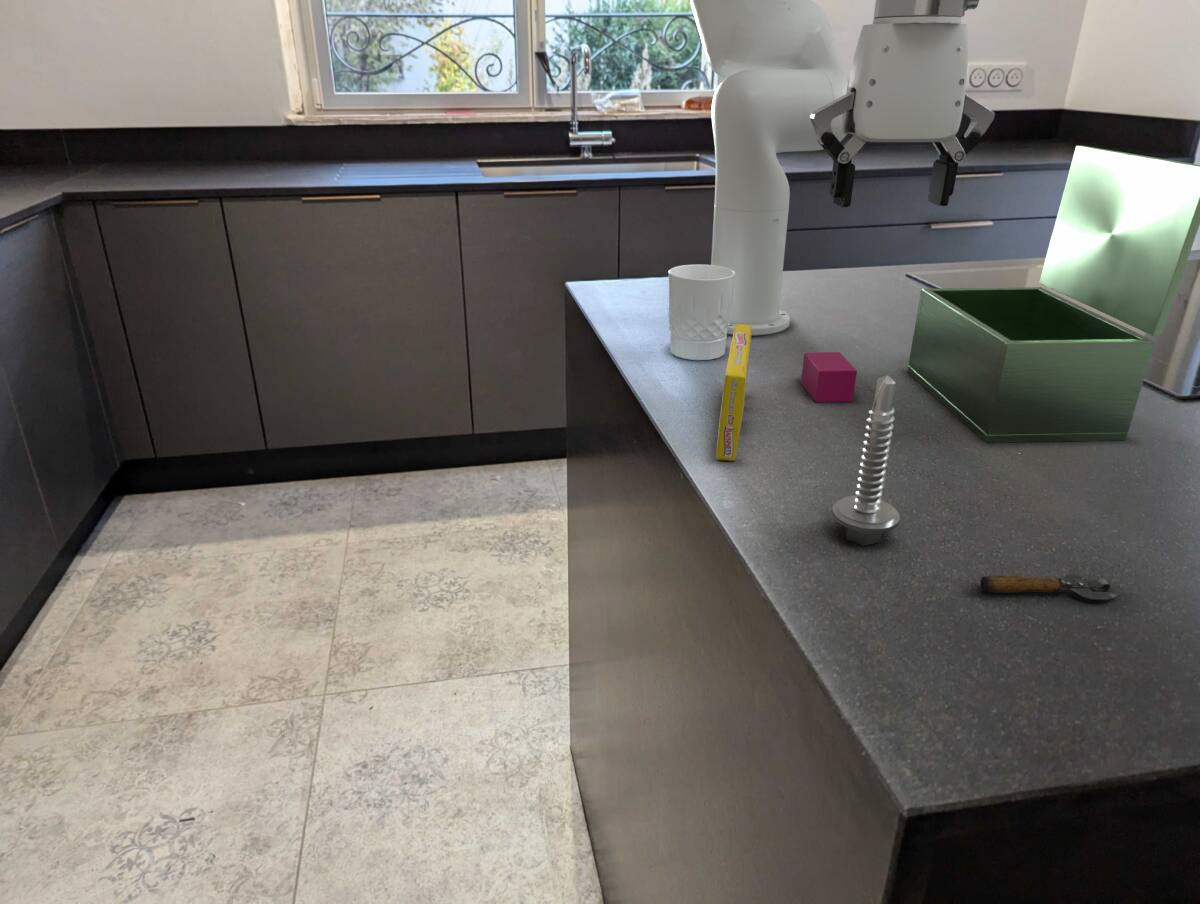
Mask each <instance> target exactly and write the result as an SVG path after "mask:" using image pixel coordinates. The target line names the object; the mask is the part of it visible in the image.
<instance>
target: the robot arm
mask: <svg viewBox="0 0 1200 904" xmlns="http://www.w3.org/2000/svg"><path fill="white" fill-rule="evenodd" d="M689 1H690V5H691V9H692V13H693V16H694V20H695V24H696V27H697V31H698V34H699V37H700V41H701V44H702V48H703V52H704V54H705V57H706V60H707V62H708V65H709V66H710V68H711V70H712V71H713V72H714V73H715V74H716V75H717V76H719V77H721V78H724V79H723V80H722V81H721V82H720V83H719V84H718V86H717V88H716V89H715V91H714V94H713V97H712V100H711V101H712V102H711V125H712V126H711V127H712V133H713V144H714V156H715V182H714V184H715V185H714V201H713V202H714V203H713V204H714V205H713V206H714V207H713V223H712V242H711V243H712V244H711V259H710V265H716V266H722V267H726V268H729V269H732V270H733V271H734V272H735V281H734V289H733V298H732V308H731V313H730V322H729V329H728V333H727V335H732V336H733V333H734V329H735V325H736V324H744V325H751V326H752V330H751V337H752V336H766V335H774V334H777V333H781V332H783V331H785V330H786V329H787V328H789V326H790V324H791V323H790V322H791V316H790V315H789V314H788V312H786V311H785V310H783V309H780V305H781V297H782V296H781V294H782V286H783V285H782V284H783V273H784V262H785V253H786V243H787V242H786V241H787V233H788V221H789V220H788V219H789V213H790V212H789V211H790V200H791V199H790V198H791V193H790V191H791V190H790V183H789V180H788V178H787V175H786V172H785V171H784V169H783V167H782V165H781V164H780V161H779V159H778V157H777V154H780V153H789V152H812V151H823V150H824V151H825V152H826V154H827V155H828V156H829V159H830V160H831V161H833V163H832V171H831V178H830V179H831V180H830V187H829V195H830V197H832V199H833V200H832V201H833V202H832V203H833V204H834V205H837V206H838V207H841V208H848V207H850V206H851V204H852V198H853V197H852V196H853V188H854V182H855V174H856V172H855V171H856V165H855V163H852V162H853V161H852V160H853V158H854V157H855V155H856V154H858V152H859V151H860V150H861V149H862V148H863V147H864V145H865V144H867V142H868V143H932V145H933V146H934V148H935V149H936V152H937V153H938V155H939V158H938V159H935V160H934V161H933V164H932V171H931V176H930V182H929V189H928V195H927V201H928V202H929V203H932V204H934V205H937V206H940V207H947V206H948V205H949V202H950V197H951V196H952V195H953V194H954V190H955V186H956V185H955V184H956V180H957V173H958V167H959V163H962V162H964V160H965V159H966V157H967V155H968V154H969V153H970V152H971V151H972V150H974V149H975V147H976V146H978V145H979V144H980V143H981V141H982V136H983V135H985V133H986V132H987V130H988V129H989V127H990V126H991V124H992V123H993V122H994V119H995V115H996V114H995V112H994V111H993V110H991V109H990V108H987V107H986V106H985V105H983V104H981V102H979V101H977V100H975V99H974V98H972V97H971V96H969V95H967V94H966V88H967V78H968V64H969V36H968V35H969V34H968V33H969V32H968V31H969V30H968V24H967V23H962V19H963V17H965V14H966V13H965V12H967V11H968V10H975V9H977V8H978V6H979V3H980V0H875V4H874V11H873V19H872V23H871V24H863V25H862V28H861V31H860V34H859V37H858V40H857V44H856V47H855V51H854V55H853V56H854V57H853V60H852V63H851V68H850V72H849V77H848V75H847V72H846V70H845V67H844V64H843V59H842V57H841V54H840V51H839V48H838V45H837V42H836V39H835V35H834V33H833V30H832V26H831V24H830V21H829V19H828V17H827V14H826V13H825V12H824V10H823V9H822V8H821V7H820V6H819V4H818V3H816V2H814V1H813V0H689ZM963 115H965V116H966V117H968V118H969V119H970V122H969V125H968V127H967V129H966V130H965V131H964V132H963V133H961V135H959V136H958V137H957V136H956V135H957V134H958V132H959V129H960V126H961V122H962V118H963Z"/></svg>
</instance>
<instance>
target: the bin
mask: <svg viewBox="0 0 1200 904" xmlns="http://www.w3.org/2000/svg"><path fill="white" fill-rule="evenodd" d="M912 336H913V337H912V341H911V346H910V347H911V348H910V353H909V358H908V359H909V360H908V365H907V371H906V372H907V373H908V375H910V376H911V377H912V378H913V379H914V380H915V381H916V382H918V383H919V385H920V386H922V387H923V388H924V389H925V390H927V392H928V393H930V394H931V395H932V396H933V397H934V398H935V399H936V400H938V402H939V403H941V404H942V405H943V406H944V407H946V408H947V410H949V411H950V412H951V413H952V414H953V415H954V416H955V417H957V419H959V420H960V421H961V422H962V423H963V424H964V425H965V426H966V427H967V428H969V430H971V431H972V432H973V433H974V434H975V435H976V436H977V437H979V438H980V439H981V441H983V442H984V443H985V444H986V443H987V444H989V443H990V444H991V443H995V444H996V443H1040V442H1041V443H1042V442H1043V443H1044V442H1045V443H1046V442H1050V443H1051V442H1088V441H1089V442H1092V441H1093V442H1097V441H1099V442H1101V441H1102V442H1103V441H1126V440H1127V437H1128V433H1129V430H1130V428H1131V427H1130V426H1131V423H1132V420H1133V416H1134V414H1135V410H1136V408H1137V404H1138V400H1139V397H1140V393H1141V391H1142V387H1143V384H1144V380H1145V377H1146V373H1147V370H1148V367H1149V364H1150V360H1151V357H1152V354H1153V350H1154V347H1155V344H1156V341H1155V340H1153V339H1151V338H1149V337H1147V336H1145V335H1143V334H1141V333H1139V332H1136V331H1135V330H1132V329H1131V328H1128V327H1126V326H1124V325H1122V324H1120V323H1117V322H1116V321H1113V320H1111V319H1109V318H1107V317H1105V316H1103V315H1101V314H1100V313H1099V314H1098V313H1096V312H1094V311H1092V310H1090V309H1088V308H1086V307H1084V306H1082V305H1080V304H1078V303H1075V302H1073V301H1071V300H1069V299H1067V298H1065V297H1062V296H1060V295H1059V294H1056V293H1054V292H1052V291H1050V290H1048V289H1046V288H1045V287H1041V286H1034V287H1032V286H1031V287H1029V286H1028V287H1025V286H1024V287H1021V286H1019V287H951V288H949V287H946V288H945V287H940V288H939V287H938V288H937V287H935V288H933V287H932V288H921V289H920V294H919V300H918V307H917V312H916V317H915V324H914V330H913V335H912Z"/></svg>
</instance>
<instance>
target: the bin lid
mask: <svg viewBox="0 0 1200 904" xmlns="http://www.w3.org/2000/svg"><path fill="white" fill-rule="evenodd" d="M1199 228H1200V164H1196V163H1190V162H1184V161H1178V160H1172V159H1165V158H1161V157H1155V156H1148V155H1143V154H1142V155H1141V154H1136V153H1130V152H1123V151H1117V150H1111V149H1105V148H1099V147H1092V146H1087V145H1076V146H1075V149H1074V153H1073V156H1072V160H1071V164H1070V167H1069V170H1068V175H1067V178H1066V182H1065V186H1064V190H1063V194H1062V196H1061V200H1060V204H1059V208H1058V211H1057V215H1056V219H1055V222H1054V226H1053V229H1052V234H1051V237H1050V241H1049V245H1048V247H1047V251H1046V256H1045V260H1044V263H1043V267H1042V270H1041V274H1040V278H1039V282H1038V283H1039V284H1041V285H1042V286H1044V287H1047V288H1049V289H1051V290H1054V291H1056V292H1057V293H1060V294H1062V295H1063V296H1067V297H1068V298H1070V299H1073V300H1075V301H1077V302H1079V303H1081V304H1084V305H1085V306H1087V307H1090V308H1092V309H1095V310H1096V311H1098V312H1100V313H1103V314H1104V315H1107V316H1109V317H1112V318H1113V319H1115V320H1118V321H1119V322H1122V323H1124V324H1126V325H1128V326H1131V327H1132V328H1135V329H1137V330H1140V331H1141V332H1143V333H1146V334H1148V335H1149V336H1151V337H1161V336H1162V335H1163V332H1164V330H1165V326H1166V323H1167V321H1168V317H1169V315H1170V311H1171V309H1172V306H1173V303H1174V301H1175V297H1176V294H1177V291H1178V289H1179V286H1180V283H1181V280H1182V277H1183V273H1184V271H1185V268H1186V265H1187V263H1188V259H1189V256H1190V254H1191V251H1192V248H1193V246H1194V242H1195V240H1196V237H1197V233H1198V231H1199Z"/></svg>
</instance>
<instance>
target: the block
mask: <svg viewBox="0 0 1200 904" xmlns="http://www.w3.org/2000/svg"><path fill="white" fill-rule="evenodd" d="M857 373H858V370H857V369H856V368H855V366H853V365H852V363H850V362H849V360H848V359H847V358H846V357H845V356H844V355H843V354H842V353H841V352H840V351H833V352H831V351H830V352H829V351H828V352H823V351H822V352H804V353H803V359H802V367H801V378H800V383H801V384H802V386H803V387H804V388H805V390H806V391H807V393H808V394H809V395H810V397H811V398H812V399H813V401H814V402H815V403H840V402H841V403H842V402H844V403H845V402H846V403H848V402H854V394H855V387H856V382H857V381H856V380H857Z"/></svg>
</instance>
